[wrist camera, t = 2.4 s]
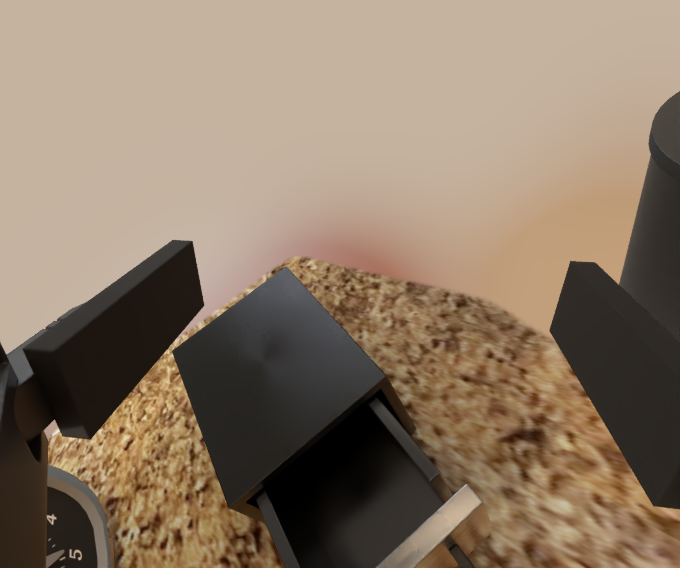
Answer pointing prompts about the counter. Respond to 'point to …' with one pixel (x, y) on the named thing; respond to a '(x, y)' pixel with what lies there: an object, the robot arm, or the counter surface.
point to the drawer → (370, 502)
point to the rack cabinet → (274, 384)
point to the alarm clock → (75, 525)
